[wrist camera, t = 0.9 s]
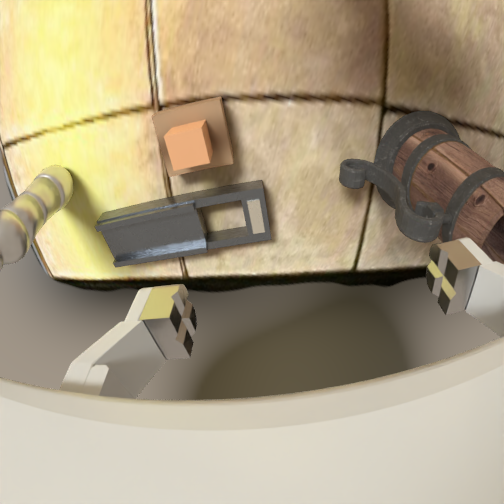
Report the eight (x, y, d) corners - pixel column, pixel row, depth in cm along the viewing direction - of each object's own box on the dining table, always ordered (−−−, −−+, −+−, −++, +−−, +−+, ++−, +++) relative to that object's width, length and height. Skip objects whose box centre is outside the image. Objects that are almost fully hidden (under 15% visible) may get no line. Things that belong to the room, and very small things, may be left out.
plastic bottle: (79, 163, 35) (-5, 247, 19) (78, 204, 39) (10, 297, 23) (45, 157, 34) (-43, 234, 18) (45, 196, 38) (-27, 281, 22)
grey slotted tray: (102, 212, 40) (94, 225, 37) (261, 180, 39) (263, 191, 36) (122, 254, 45) (115, 268, 42) (269, 229, 43) (272, 243, 41)
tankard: (470, 120, 32) (565, 178, 16) (449, 213, 42) (516, 293, 26) (332, 98, 32) (417, 147, 16) (325, 214, 42) (370, 321, 26)
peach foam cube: (171, 127, 31) (163, 136, 28) (205, 119, 30) (201, 127, 27) (180, 158, 33) (173, 170, 30) (213, 151, 33) (209, 163, 30)
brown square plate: (158, 111, 32) (151, 116, 30) (221, 96, 32) (219, 99, 29) (173, 168, 37) (169, 176, 34) (233, 155, 36) (233, 163, 34)
